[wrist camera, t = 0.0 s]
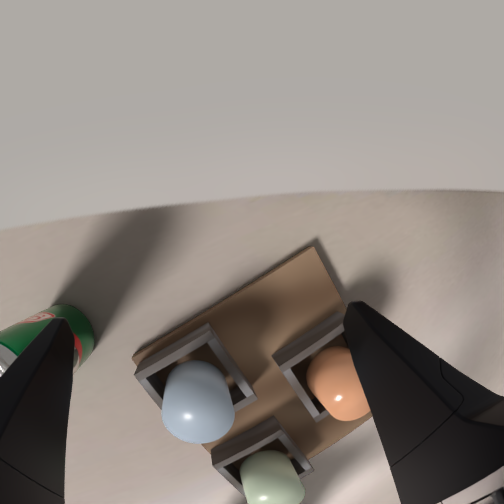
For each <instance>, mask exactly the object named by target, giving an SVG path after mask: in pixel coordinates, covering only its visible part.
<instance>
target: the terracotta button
mask: <svg viewBox="0 0 504 504" xmlns="http://www.w3.org/2000/svg"><path fill="white" fill-rule="evenodd" d="M306 381H307V385H308V387H309V389H310V390H311V392H312V393H313V394H314V395H315V396H316V398H317V399H318V400H319V401H320V402H321V403H322V405H323V406H324V407H325V408H326V409H327V411H328V412H329V413H330V414H331V415H332V416H333V417H334V418H336V419H338V420H342V421H351V420H355V419H358V418H360V417H362V416H364V415H366V414H367V413H368V412H369V411H371V410H370V408H369V405H368V402H367V399H366V397H365V394H364V391H363V389H362V386H361V383H360V380H359V378H358V375H357V372H356V370H355V367H354V364H353V361H352V357H351V353H350V349H348V348H346V347H343V346H333V347H329V348H326V349H324V350H323V351H321V352H320V353H318V354H317V355H316V356H315V357H314V358H313V360H312V361H311V363H310V365H309V367H308V369H307V373H306Z"/></svg>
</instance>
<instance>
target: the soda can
mask: <svg viewBox="0 0 504 504" xmlns="http://www.w3.org/2000/svg"><path fill="white" fill-rule="evenodd" d="M55 317H64V318H66V319H67V321H68V323H69V325H70V327H71V330H72V332H73V334H74V337H75V347H74V363H73V375H74V373H75V372H76V371H77V370H78V369H79V368H80V366H81V365H82V364H83V363H84V362H85V361H86V359H87V358H88V357H89V356H90V354H91V353H92V350H93V346H94V334H93V330H92V327H91V325H90V323H89V321H88V320H87V318H86V317H85V316H84V315H83V313H81V312H80V311H79V310H78V309H76V308H75V307H72V306H70V305H66V304H58V305H54V306H52V307H50V308H48V309H46V310H43V311H41V312H39V313H37V314H35V315H33V316H31V317H29V318H27V319H25V320H22V321H20V322H18V323H16V324H14V325H12V326H10V327H8V328H6V329H4V330H2V331H0V377H1V375H2V374H3V373H4V372H5V371H6V369H7V368H8V367H9V366H10V365H11V364H12V363H13V361H14V360H15V359H16V358H17V357H18V356H19V355H20V353H21V352H22V351H23V350H24V349H25V348H26V347H27V346H28V345H29V343H30V342H31V341H32V340H33V339H34V338H35V337H36V336H37V335H38V334H39V333H40V332H41V330H42V329H43V328H44V327H45V326H46V325H47V324H48V323H49V322H50V321H51V320H52V319H53V318H55Z"/></svg>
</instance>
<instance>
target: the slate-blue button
mask: <svg viewBox="0 0 504 504" xmlns="http://www.w3.org/2000/svg"><path fill="white" fill-rule="evenodd" d="M161 413H162V420H163V422H164V425H165V426H166V428H167V429H168V431H169V432H170V433H171V434H173V435H174V436H175V437H177V438H179V439H181V440H183V441H186V442H189V443H196V444H202V443H209V442H213V441H215V440H218V439H219V438H221V437H223V436H224V435H225V434H226V433H227V432H228V431H229V430H230V428H231V427H232V425H233V422H234V418H235V412H234V407H233V404H232V400H231V396H230V393H229V389H228V385H227V382H226V379H225V376H224V375H223V373H222V372H221V371H220V370H219V369H218V368H217V367H216V366H214V365H212V364H211V363H208V362H205V361H200V360H191V361H186V362H183V363H181V364H179V365H177V366H176V367H175V368H174V369H173V370H172V371H171V372H170V373H169V375H168V377H167V381H166V386H165V392H164V398H163V404H162V412H161Z"/></svg>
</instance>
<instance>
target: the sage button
mask: <svg viewBox="0 0 504 504" xmlns="http://www.w3.org/2000/svg"><path fill="white" fill-rule="evenodd" d="M240 477H241V481H242V484H243V488H244V492H245V496H246V499H247V503H248V504H300V503H301V501H302V500H303V498H304V496H305V489H304V487H303V485H302V483H301V481H300V479H299V477H298V475H297V473H296V471H295V469H294V467H293V465H292V463H291V461H290V459H289V457H288V456H287V455H286V454H284V453H282V452H280V451H276V450H265V451H261V452H257V453H255V454H253V455H251V456H249V457H248V458H247V459H246V460H244V462H243V463H242V464H241V467H240Z"/></svg>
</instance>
